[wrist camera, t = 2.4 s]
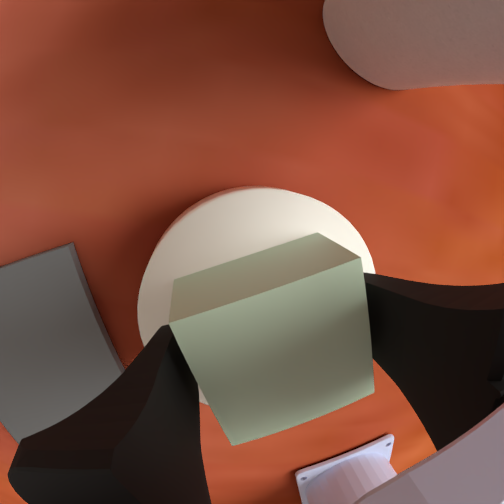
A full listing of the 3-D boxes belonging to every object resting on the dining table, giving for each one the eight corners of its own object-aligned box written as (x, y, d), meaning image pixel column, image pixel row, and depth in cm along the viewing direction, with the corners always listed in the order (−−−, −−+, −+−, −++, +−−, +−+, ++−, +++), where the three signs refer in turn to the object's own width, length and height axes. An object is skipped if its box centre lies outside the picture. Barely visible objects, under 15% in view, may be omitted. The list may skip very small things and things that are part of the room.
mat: (185, 471, 17) (186, 477, 16) (56, 477, 15) (54, 482, 15) (73, 242, 12) (68, 245, 11) (-64, 291, 10) (-70, 295, 10)
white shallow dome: (349, 339, 16) (376, 371, 13) (183, 387, 15) (184, 429, 12) (330, 166, 13) (365, 168, 10) (121, 215, 12) (101, 230, 9)
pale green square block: (339, 348, 12) (374, 392, 9) (221, 390, 12) (232, 446, 9) (317, 232, 10) (361, 257, 8) (174, 279, 10) (168, 323, 7)
